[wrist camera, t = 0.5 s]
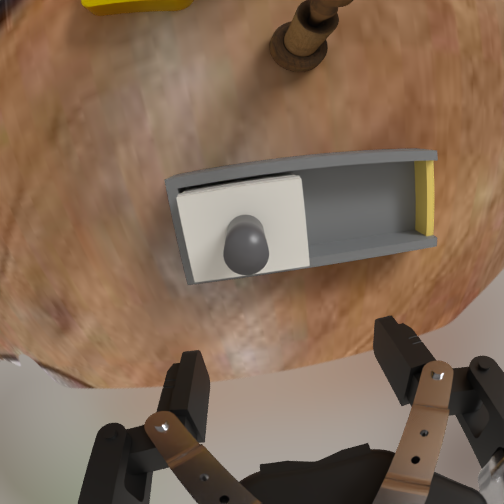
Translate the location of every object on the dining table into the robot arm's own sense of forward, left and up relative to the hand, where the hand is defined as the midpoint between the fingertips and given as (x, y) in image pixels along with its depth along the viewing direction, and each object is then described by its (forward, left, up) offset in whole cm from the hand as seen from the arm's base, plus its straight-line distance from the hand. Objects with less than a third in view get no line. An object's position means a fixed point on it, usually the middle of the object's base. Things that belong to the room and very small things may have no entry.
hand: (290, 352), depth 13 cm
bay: (0, +7, -26) cm, 27 cm away
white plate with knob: (0, -2, -25) cm, 25 cm away
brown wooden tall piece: (-20, +8, -26) cm, 34 cm away
